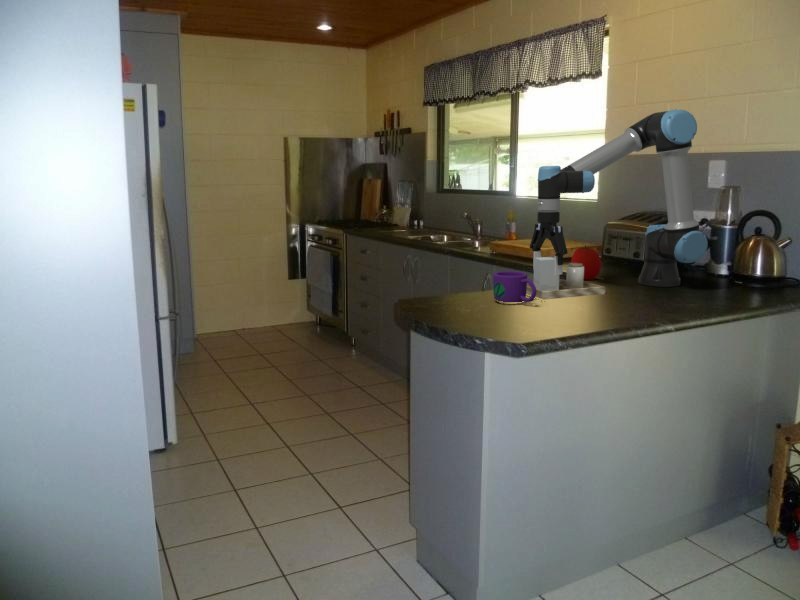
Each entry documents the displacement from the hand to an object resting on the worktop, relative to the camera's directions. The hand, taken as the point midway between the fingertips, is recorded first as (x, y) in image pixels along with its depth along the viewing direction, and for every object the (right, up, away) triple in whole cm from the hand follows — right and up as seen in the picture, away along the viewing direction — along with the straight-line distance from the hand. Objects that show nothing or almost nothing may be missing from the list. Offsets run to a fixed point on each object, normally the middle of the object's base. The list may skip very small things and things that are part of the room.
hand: (547, 271), depth 228 cm
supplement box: (0, -8, +2) cm, 8 cm away
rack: (+5, -8, +4) cm, 10 cm away
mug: (-13, -11, -10) cm, 20 cm away
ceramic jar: (+11, -7, +5) cm, 14 cm away
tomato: (+23, -2, +32) cm, 39 cm away
